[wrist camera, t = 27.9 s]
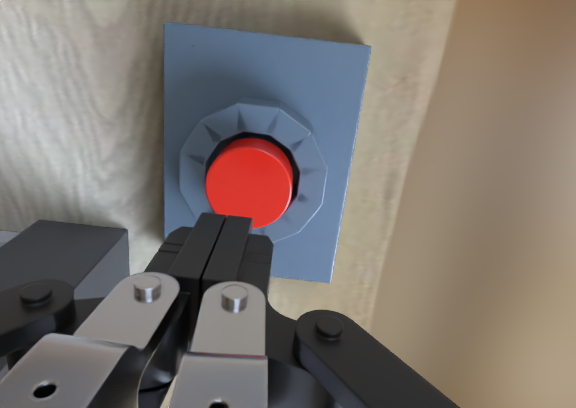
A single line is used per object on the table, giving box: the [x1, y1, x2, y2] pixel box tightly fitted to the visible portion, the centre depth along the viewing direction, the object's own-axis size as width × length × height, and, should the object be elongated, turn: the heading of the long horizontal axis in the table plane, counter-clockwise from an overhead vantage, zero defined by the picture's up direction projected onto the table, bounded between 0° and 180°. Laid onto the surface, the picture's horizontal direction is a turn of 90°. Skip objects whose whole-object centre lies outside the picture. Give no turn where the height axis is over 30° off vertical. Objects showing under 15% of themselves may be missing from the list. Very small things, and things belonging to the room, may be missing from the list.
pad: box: [164, 22, 371, 283], centre depth 20 cm, size 12×9×4 cm
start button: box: [205, 138, 293, 229], centre depth 18 cm, size 4×4×2 cm
